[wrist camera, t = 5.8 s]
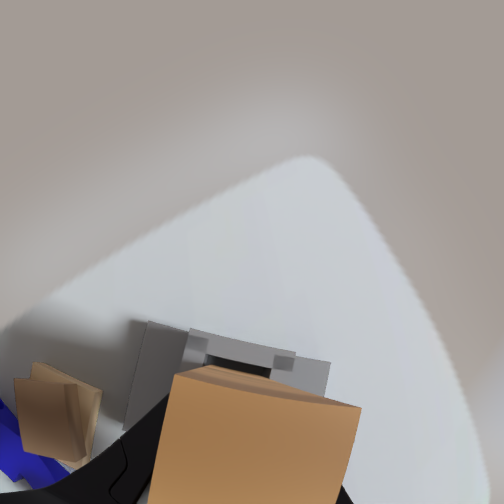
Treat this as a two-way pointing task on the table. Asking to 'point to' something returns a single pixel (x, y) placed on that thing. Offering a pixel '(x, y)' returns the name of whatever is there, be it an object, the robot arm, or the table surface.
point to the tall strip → (250, 442)
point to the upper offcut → (50, 419)
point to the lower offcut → (87, 404)
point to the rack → (211, 353)
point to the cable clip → (24, 456)
